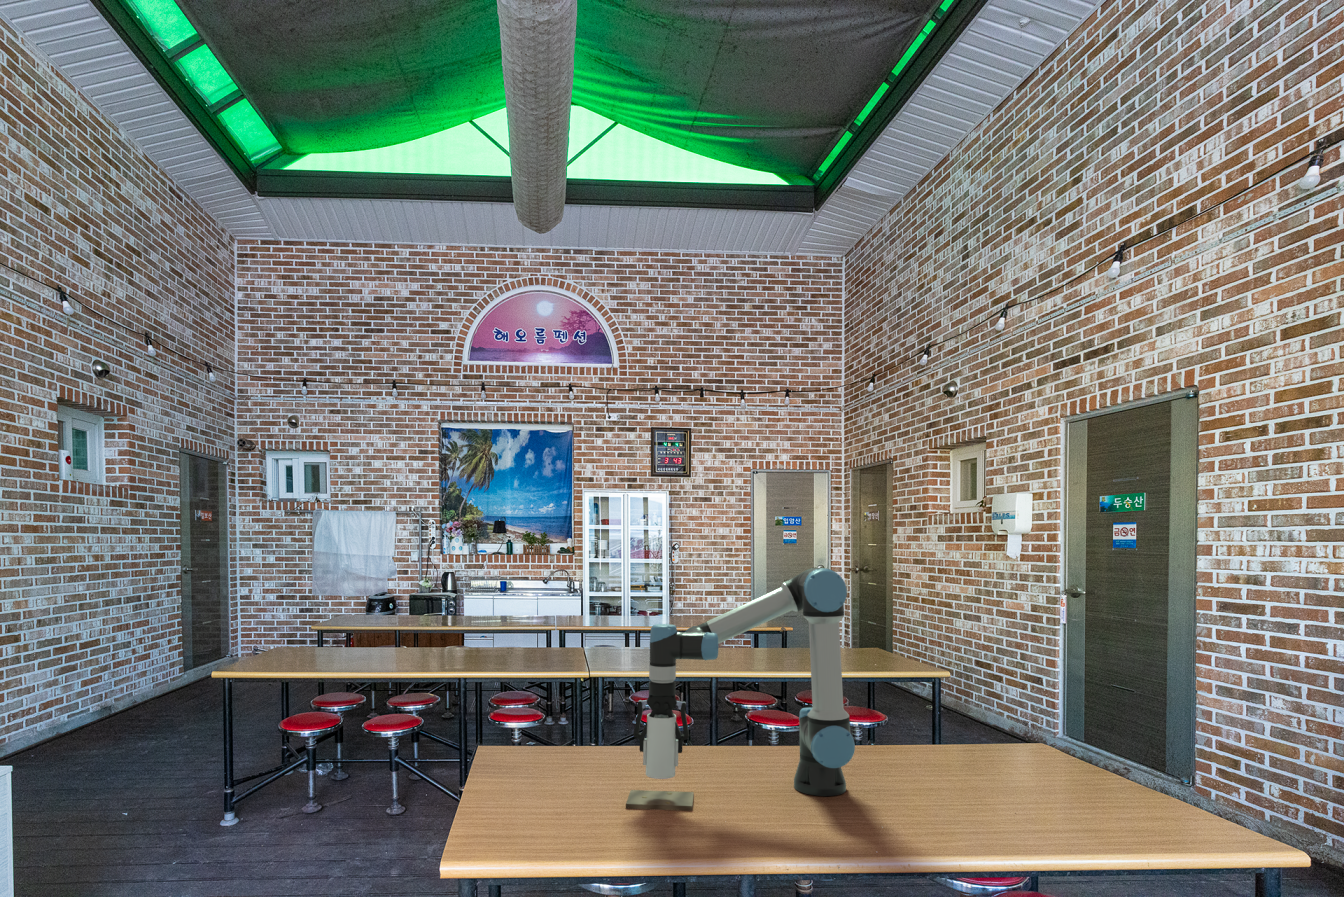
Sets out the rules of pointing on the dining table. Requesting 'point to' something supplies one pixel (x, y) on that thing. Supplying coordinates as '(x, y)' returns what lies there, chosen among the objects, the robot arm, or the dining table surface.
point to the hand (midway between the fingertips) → (660, 764)
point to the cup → (660, 746)
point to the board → (660, 800)
